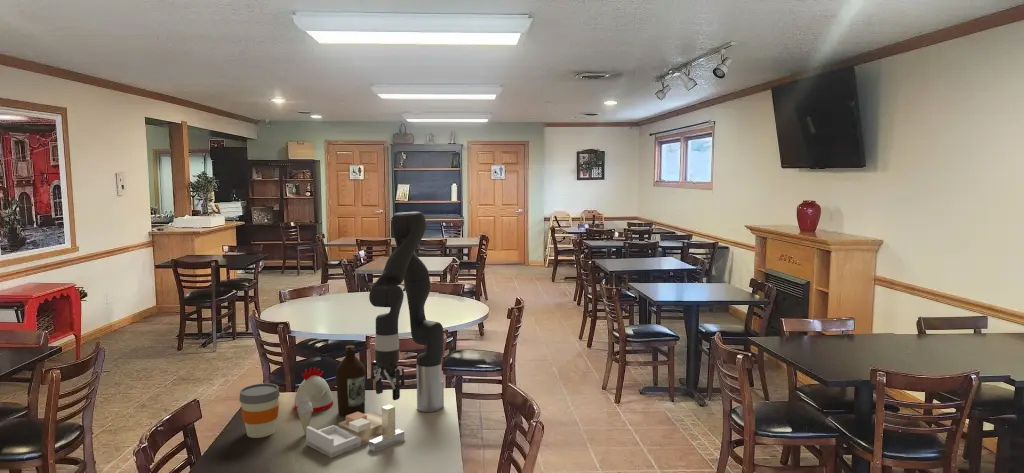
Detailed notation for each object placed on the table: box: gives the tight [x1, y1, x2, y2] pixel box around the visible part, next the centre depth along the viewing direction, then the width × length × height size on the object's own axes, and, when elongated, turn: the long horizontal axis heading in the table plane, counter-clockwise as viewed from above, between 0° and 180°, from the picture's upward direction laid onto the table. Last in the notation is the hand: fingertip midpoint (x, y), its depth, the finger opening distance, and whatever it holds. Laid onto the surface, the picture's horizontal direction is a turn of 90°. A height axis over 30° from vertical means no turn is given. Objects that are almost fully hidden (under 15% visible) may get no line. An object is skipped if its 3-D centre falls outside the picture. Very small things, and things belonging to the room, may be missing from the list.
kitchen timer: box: [294, 366, 334, 413], centre depth 230 cm, size 14×14×15 cm
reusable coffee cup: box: [239, 382, 281, 439], centre depth 206 cm, size 13×13×15 cm
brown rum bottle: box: [335, 345, 367, 418], centre depth 223 cm, size 11×11×25 cm
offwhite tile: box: [349, 418, 371, 432], centre depth 201 cm, size 5×5×2 cm
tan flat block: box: [337, 410, 382, 445], centre depth 206 cm, size 14×12×4 cm
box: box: [305, 424, 362, 459], centre depth 197 cm, size 11×14×6 cm
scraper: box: [368, 404, 405, 453], centre depth 197 cm, size 4×12×13 cm, turn 140°
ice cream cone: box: [296, 392, 313, 435], centre depth 205 cm, size 5×5×15 cm
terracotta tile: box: [345, 412, 367, 423], centre depth 206 cm, size 5×5×2 cm
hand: (387, 396), depth 195 cm, fingers open, 8 cm apart
